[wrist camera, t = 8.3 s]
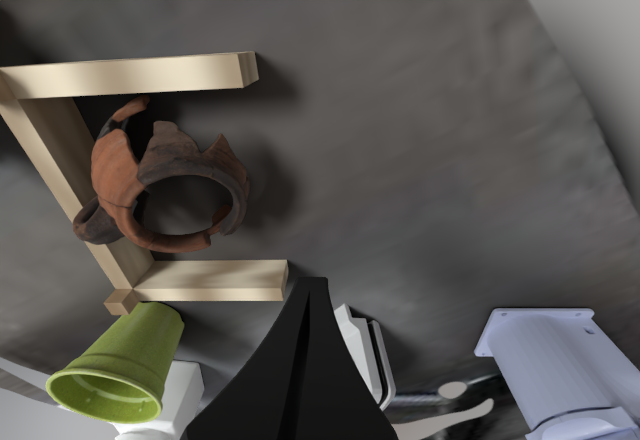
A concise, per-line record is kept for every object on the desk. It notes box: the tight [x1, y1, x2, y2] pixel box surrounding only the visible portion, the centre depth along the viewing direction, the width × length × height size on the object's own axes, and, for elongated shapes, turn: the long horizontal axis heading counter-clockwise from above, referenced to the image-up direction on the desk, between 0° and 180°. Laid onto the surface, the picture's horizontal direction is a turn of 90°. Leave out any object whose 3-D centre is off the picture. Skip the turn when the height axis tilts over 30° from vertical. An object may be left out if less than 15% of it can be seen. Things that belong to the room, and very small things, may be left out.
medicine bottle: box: [112, 360, 204, 440], centre depth 33 cm, size 7×7×12 cm
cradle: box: [0, 51, 289, 315], centre depth 20 cm, size 14×18×5 cm
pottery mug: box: [73, 95, 250, 253], centre depth 19 cm, size 12×10×8 cm
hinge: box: [334, 304, 396, 411], centre depth 30 cm, size 17×5×10 cm, turn 140°
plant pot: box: [46, 302, 184, 424], centre depth 27 cm, size 9×9×9 cm
